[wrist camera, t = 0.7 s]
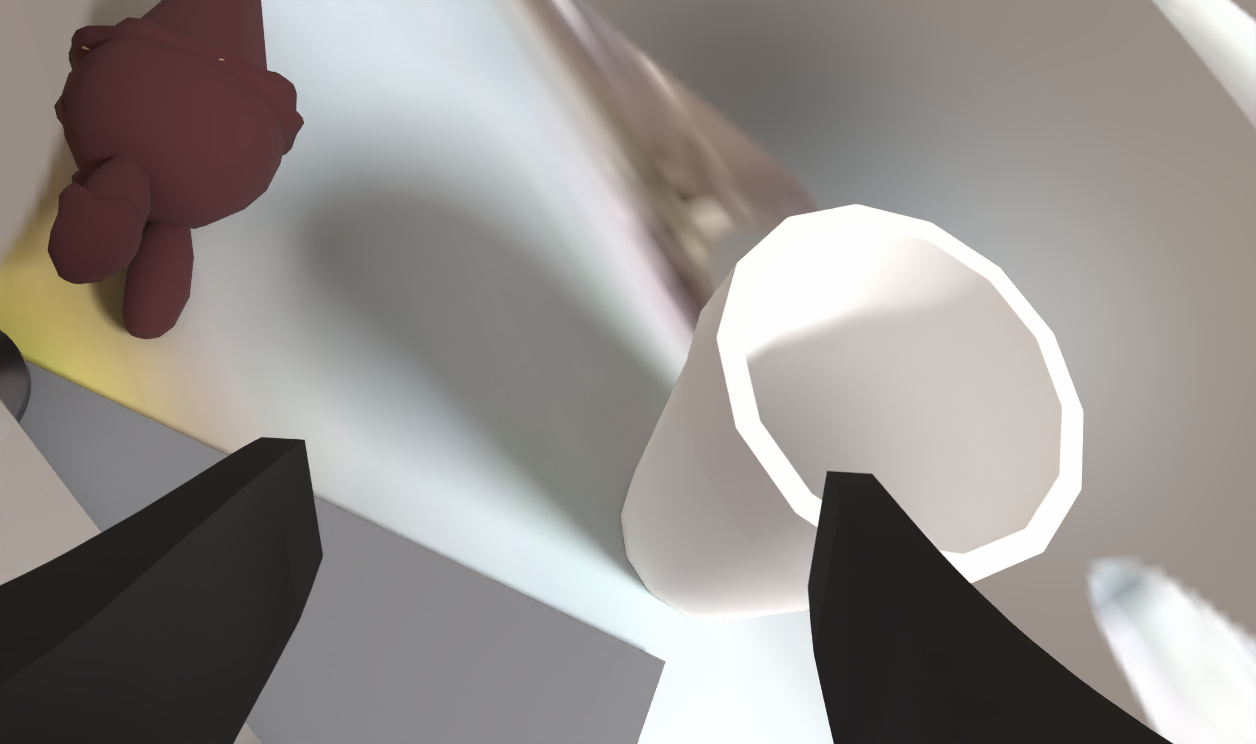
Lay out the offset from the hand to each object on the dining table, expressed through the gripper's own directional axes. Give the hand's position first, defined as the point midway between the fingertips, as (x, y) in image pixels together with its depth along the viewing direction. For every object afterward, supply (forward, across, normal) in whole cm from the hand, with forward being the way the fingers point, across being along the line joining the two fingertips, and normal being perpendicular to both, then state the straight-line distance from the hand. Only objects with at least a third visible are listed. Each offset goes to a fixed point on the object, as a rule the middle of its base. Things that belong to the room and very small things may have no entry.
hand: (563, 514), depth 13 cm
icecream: (+21, +16, +2) cm, 26 cm away
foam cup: (+16, -3, +12) cm, 20 cm away
